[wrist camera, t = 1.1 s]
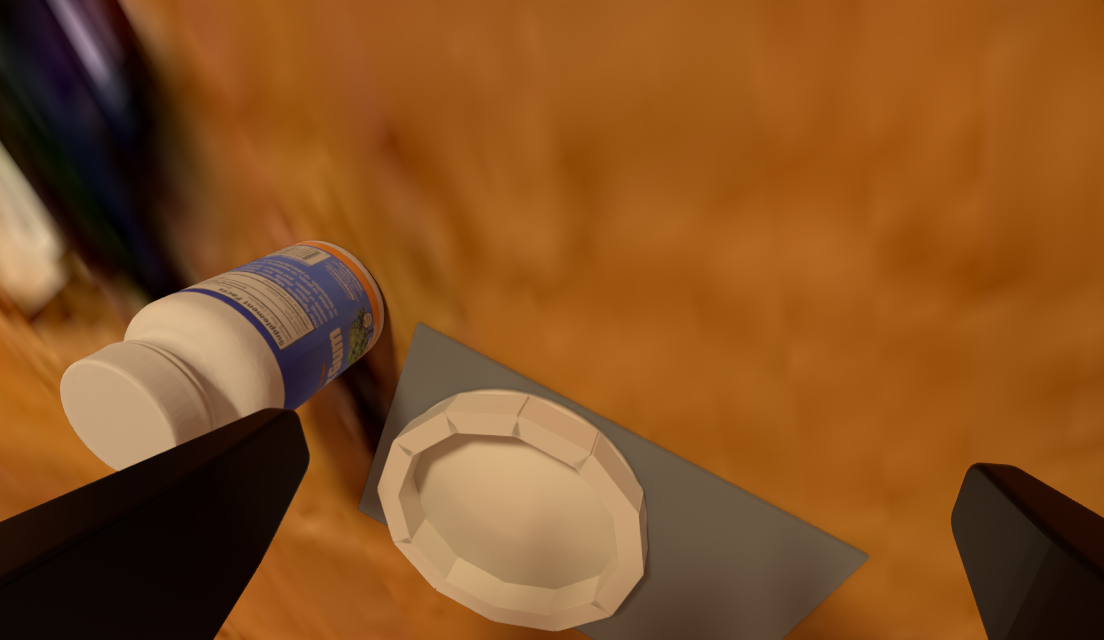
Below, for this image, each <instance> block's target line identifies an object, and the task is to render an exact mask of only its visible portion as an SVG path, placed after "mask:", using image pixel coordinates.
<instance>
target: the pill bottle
mask: <svg viewBox="0 0 1104 640" xmlns="http://www.w3.org/2000/svg"><path fill="white" fill-rule="evenodd" d="M383 324H384V306H383V301H382V297H381V294H380V291H379V289H378V287H377V284H376V282H375V281H374V279H373V278H372V276H371V275H370V273H369V272H368V271H367V269H366V268H365V267H364V266H363V264H362V263H361V262H360V261H359V260H358V259H356V258H355V257H354V256H353V255H352V254H350V253H349V252H347V251H346V250H344V249H342V248H341V247H339V246H336V245H334V244H331V243H327V242H323V241H305V242H300V243H297V244H294V245H291V246H289V247H286V248H284V249H282V250H279V251H277V252H274V253H272V254H270V255H267V256H265V257H262V258H260V259H258V260H255V261H253V262H250V263H248V264H245V265H243V266H240V267H238V268H236V269H233V270H231V271H228V272H226V273H223V274H221V275H218V276H216V277H213V278H211V279H208V280H206V281H203V282H201V283H198V284H196V285H193V286H191V287H188V288H186V289H183V290H181V291H178V292H176V293H174V294H171V295H169V296H167V297H164V298H162V299H159V300H157V301H155V302H153V303H151V304H149V305H147V306H146V307H144V308H143V309H142V310H140V312H139V313H138V314H137V315H136V316H135V317H134V318H133V319H132V321H131V323H130V324H129V326H128V329H127V331H126V334H125V338H124V341H123V342H118V343H113V344H110V345H108V346H106V347H104V348H103V349H101V350H99V351H97V352H95V353H93V354H91V355H89V356H87V357H85V358H83V359H81V360H79V361H77V362H75V363H73V364H72V365H71V366H70V367H69V368H68V369H67V370H66V371H65V373H64V375H63V377H62V380H61V385H60V394H61V401H62V405H63V408H64V411H65V414H66V416H67V418H68V420H69V422H70V424H71V425H72V427H73V429H74V430H75V432H76V433H77V435H78V436H79V438H80V439H81V440H82V441H83V442H84V444H85V445H86V446H87V447H88V448H89V449H90V450H91V451H92V452H93V453H94V454H95V455H96V456H97V457H98V458H100V459H101V460H102V461H104V462H105V463H106V464H107V465H108V466H110V467H112V468H113V469H115V470H117V471H120V470H122V469H124V468H127V467H129V466H131V465H134V464H136V463H138V462H141V461H143V460H145V459H148V458H150V457H152V456H155V455H157V454H159V453H162V452H164V451H166V450H169V449H171V448H173V447H176V446H178V445H180V444H183V443H185V442H187V441H190V440H192V439H194V438H197V437H199V436H201V435H203V434H206V433H208V432H210V431H213V430H215V429H217V428H220V427H222V426H224V425H227V424H229V423H231V422H234V421H236V420H238V419H241V418H243V417H245V416H248V415H250V414H252V413H255V412H257V411H259V410H262V409H264V408H269V407H272V408H285V409H292V410H296V409H297V408H298V407H299V406H301V405H302V404H303V403H304V402H306V401H307V400H308V399H309V398H311V397H312V396H313V395H314V394H316V393H317V392H318V391H320V390H321V389H322V388H323V387H325V386H326V385H327V384H328V383H329V382H331V381H332V380H333V379H335V378H336V377H337V376H338V375H340V374H341V373H342V372H343V371H345V370H346V369H347V368H348V367H350V366H351V365H352V364H353V363H355V362H356V361H357V360H358V359H360V358H361V357H362V356H363V355H364V354H365V353H367V352H368V351H369V350H370V349H371V348H372V347H373V346H374V344H375V343H376V342H377V340H378V338H379V337H380V334H381V332H382V329H383Z"/></svg>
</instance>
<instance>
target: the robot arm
mask: <svg viewBox="0 0 1104 640" xmlns="http://www.w3.org/2000/svg"><path fill="white" fill-rule="evenodd" d="M309 460H310V453H309V449H308V446H307V442H306V439H305V435H304V432H303V428H302V425H301V421H300V418H299V416H298V414H297V413H296V412H295V411H294V410H292V409H285V408H272V407H269V408H264V409H262V410H259V411H257V412H255V413H252V414H250V415H248V416H245V417H243V418H241V419H238V420H236V421H234V422H231V423H229V424H227V425H224V426H222V427H220V428H217V429H215V430H213V431H210V432H208V433H206V434H203V435H201V436H199V437H197V438H194V439H192V440H190V441H187V442H185V443H183V444H180V445H178V446H176V447H173V448H171V449H169V450H166V451H164V452H162V453H159V454H157V455H155V456H152V457H150V458H148V459H145V460H143V461H141V462H138V463H136V464H134V465H131V466H129V467H127V468H124V469H122V470H120V471H117V472H115V473H113V474H110V475H108V476H106V477H103V478H101V479H99V480H96V481H94V482H92V483H90V484H87V485H85V486H83V487H80V488H78V489H76V490H73V491H71V492H69V493H66V494H64V495H62V496H59V497H57V498H55V499H52V500H50V501H48V502H45V503H43V504H41V505H38V506H36V507H34V508H31V509H29V510H27V511H24V512H22V513H20V514H17V515H15V516H13V517H10V518H8V519H6V520H3V521H1V522H0V640H214V638H215V636H216V635H217V633H218V632H219V630H220V628H221V627H222V625H223V623H224V622H225V620H226V619H227V617H228V615H229V614H230V612H231V611H232V609H233V607H234V606H235V604H236V602H237V601H238V599H239V598H240V596H241V594H242V593H243V591H244V590H245V588H246V586H247V585H248V583H249V581H250V580H251V578H252V577H253V575H254V573H255V571H256V570H257V568H258V566H259V565H260V563H261V561H262V559H263V557H264V555H265V553H266V552H267V550H268V548H269V546H270V544H271V542H272V540H273V538H274V536H275V534H276V532H277V530H278V528H279V526H280V524H281V522H282V520H283V518H284V516H285V514H286V512H287V510H288V508H289V506H290V504H291V502H292V500H293V498H294V496H295V494H296V492H297V490H298V487H299V485H300V483H301V481H302V479H303V477H304V475H305V473H306V471H307V469H308V465H309ZM951 526H952V531H953V535H954V538H955V541H956V544H957V547H958V550H959V553H960V556H961V559H962V562H963V565H964V568H965V571H966V574H967V577H968V580H969V583H970V586H971V589H972V592H973V595H974V598H975V601H976V604H977V607H978V610H979V613H980V616H981V619H982V622H983V625H984V628H985V631H986V634H987V637H988V640H1104V518H1103V517H1101V516H1100V515H1098V514H1096V513H1095V512H1093V511H1091V510H1089V509H1088V508H1086V507H1084V506H1083V505H1081V504H1079V503H1077V502H1076V501H1074V500H1072V499H1071V498H1069V497H1067V496H1066V495H1064V494H1062V493H1060V492H1059V491H1057V490H1055V489H1054V488H1052V487H1050V486H1048V485H1047V484H1045V483H1043V482H1042V481H1040V480H1038V479H1036V478H1035V477H1033V476H1031V475H1030V474H1028V473H1026V472H1025V471H1023V470H1021V469H1019V468H1017V467H1015V466H1012V465H1005V464H992V463H976V464H973V465H972V466H971V467H970V468H969V469H968V471H967V473H966V475H965V478H964V481H963V483H962V486H961V489H960V492H959V494H958V497H957V500H956V503H955V506H954V508H953V511H952V517H951Z"/></svg>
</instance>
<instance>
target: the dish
mask: <svg viewBox="0 0 1104 640" xmlns="http://www.w3.org/2000/svg"><path fill="white" fill-rule="evenodd" d="M377 488H378V494H379V497H380V500H381V504H382V507H383V510H384V514H385V517H386V520H387V523H388V527H389V530H390V533H391V537H392V540H393V542H395V543H394V544H395V545H396V546H397V547H398V548H399V549H400V551H401V552H402V553H403V554H404V555H405V556H406V557H407V558H408V560H409V561H410V562H411V563H412V564H413V565H414V566H415V567H416V569H417V570H418V571H419V572H420V573H421V574H422V575H423V576H424V578H425V579H426V580H427V581H428V582H429V583H430V584H431V585H432V587H433V588H434V589H435V588H437V589H436V590H437V591H439V592H441V593H442V594H444V595H446V596H448V597H450V598H451V599H453V600H455V601H457V602H459V603H460V604H462V605H464V606H466V607H468V608H470V609H471V610H473V611H475V612H477V613H479V614H480V615H482V616H484V617H486V618H488V619H489V620H491V621H492V620H494V622H500V623H506V624H512V625H518V626H524V627H530V628H536V629H542V630H548V631H554V632H555V630H556V631H560V630H564V629H568V628H571V627H575V626H578V625H582V624H585V623H589V622H593V621H596V620H600V619H603V618H607V617H610V616H611V615H613V613H614V612H615V611H616V610H617V608H618V607H619V606H620V604H621V603H622V602H623V601H624V599H625V598H626V597H627V595H628V594H629V593H630V591H631V590H632V589H633V588H634V586H635V585H636V584H637V582H638V581H639V580H640V579H641V577H642V576H643V573H644V568H645V562H646V556H647V549H648V543H647V530H646V528H647V507H646V501H645V496H644V492H643V489H642V486H641V483H640V481H639V479H638V477H637V475H636V473H635V471H634V469H633V467H632V465H631V464H630V462H629V461H628V459H627V458H626V456H625V455H624V453H623V452H622V451H621V450H620V449H619V447H618V446H617V445H616V444H615V443H614V441H613V440H612V439H611V438H610V437H608V436H607V435H606V434H605V433H604V432H603V431H602V430H601V429H600V428H599V427H597V426H596V425H595V424H593V423H592V422H591V421H589V420H588V419H587V418H585V417H584V416H582V415H581V414H579V413H577V412H576V411H574V410H572V409H571V408H569V407H567V406H565V405H563V404H560V403H558V402H556V401H554V400H552V399H549V398H546V397H543V396H540V395H537V394H534V393H530V392H525V391H520V390H515V389H505V388H480V389H474V390H468V391H464V392H460V393H457V394H454V395H451V396H449V397H447V398H445V399H443V400H441V401H439V402H437V403H436V404H434V405H433V406H432V407H430V408H429V409H428V410H427V411H426V412H425V413H424V414H422V415H420V416H418V417H417V418H415V419H413V420H412V421H410V422H409V424H408V425H407V426H406V427H405V428H404V429H403V430H402V432H401V433H400V434H399V435H398V436H397V437H396V438H395V440H394V441H393V443H392V446H391V449H390V452H389V455H388V458H387V461H386V464H385V467H384V470H383V473H382V476H381V479H380V482H379V484H378V487H377Z"/></svg>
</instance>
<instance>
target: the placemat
mask: <svg viewBox="0 0 1104 640" xmlns="http://www.w3.org/2000/svg"><path fill="white" fill-rule="evenodd" d="M480 388H505V389H515V390H520V391H525V392H530V393H534V394H537V395H540V396H543V397H546V398H549V399H552V400H554V401H556V402H558V403H560V404H563V405H565V406H567V407H569V408H571V409H572V410H574V411H576V412H577V413H579V414H581V415H582V416H584V417H585V418H587V419H588V420H589V421H591V422H592V423H593V424H595V425H596V426H597V427H599V428H600V429H601V430H602V431H603V432H604V433H605V434H606V435H607V436H608V437H610V438H611V439H612V440H613V441H614V443H615V444H616V445H617V446H618V447H619V449H620V450H621V451H622V452H623V453H624V455H625V456H626V458H627V459H628V461H629V462H630V464H631V465H632V467H633V469H634V471H635V473H636V475H637V477H638V479H639V481H640V483H641V486H642V489H643V492H644V496H645V501H646V507H647V528H646V530H647V543H648V549H647V556H646V562H645V568H644V573H643V576H642V577H641V579H640V580H639V581H638V582H637V584H636V585H635V586H634V588H633V589H632V590H631V591H630V593H629V594H628V595H627V597H626V598H625V599H624V601H623V602H622V603H621V604H620V606H619V607H618V608H617V610H616V611H615V612H614V613H613V615H611V616H610V617H607V618H603V619H600V620H596V621H593V622H589V623H585V624H582V625H578V626H575V627H572V628H574V629H576V630H578V631H580V632H582V633H583V634H585V635H587V636H589V637H591V638H593V639H594V640H782V639H783V638H784V637H785V636H786V635H787V634H788V633H789V632H790V631H791V630H792V629H793V628H794V627H796V626H797V625H798V624H799V623H800V622H801V621H802V620H803V619H804V618H805V617H806V616H807V615H808V614H810V613H811V612H812V611H813V610H814V609H815V608H816V607H817V606H818V605H819V604H820V603H821V602H822V601H824V600H825V599H826V598H827V597H828V596H829V595H830V594H831V593H832V592H833V591H834V590H835V589H836V588H838V587H839V586H840V585H841V584H842V583H843V582H844V581H845V580H846V579H847V578H848V577H849V576H850V575H852V574H853V573H854V572H855V571H856V570H857V569H858V568H859V567H860V566H861V565H862V564H863V563H864V562H866V561H867V560H868V559H869V557H868V554H866V553H864V552H862V551H860V550H858V549H856V548H854V547H852V546H850V545H848V544H846V543H845V542H843V541H841V540H839V539H837V538H835V537H833V536H831V535H829V534H827V533H825V532H823V531H821V530H819V529H818V528H816V527H814V526H812V525H810V524H808V523H806V522H804V521H802V520H800V519H798V518H796V517H794V516H792V515H791V514H789V513H787V512H785V511H783V510H781V509H779V508H777V507H775V506H773V505H771V504H769V503H767V502H765V501H764V500H762V499H760V498H758V497H756V496H754V495H752V494H750V493H748V492H746V491H744V490H742V489H740V488H738V487H737V486H735V485H733V484H731V483H729V482H727V481H725V480H723V479H721V478H719V477H717V476H715V475H713V474H711V473H710V472H708V471H706V470H704V469H702V468H700V467H698V466H696V465H694V464H692V463H690V462H688V461H686V460H684V459H683V458H681V457H679V456H677V455H675V454H673V453H671V452H669V451H667V450H665V449H663V448H661V447H659V446H657V445H655V444H654V443H652V442H650V441H648V440H646V439H644V438H642V437H640V436H638V435H636V434H634V433H632V432H630V431H628V430H627V429H625V428H623V427H621V426H619V425H617V424H615V423H613V422H611V421H609V420H607V419H605V418H603V417H601V416H600V415H598V414H596V413H594V412H592V411H590V410H588V409H586V408H584V407H582V406H580V405H578V404H576V403H574V402H573V401H571V400H569V399H567V398H565V397H563V396H561V395H559V394H557V393H555V392H553V391H551V390H549V389H547V388H546V387H544V386H542V385H540V384H538V383H536V382H534V381H532V380H530V379H528V378H526V377H524V376H522V375H520V374H519V373H517V372H515V371H513V370H511V369H509V368H507V367H505V366H503V365H501V364H499V363H497V362H495V361H493V360H492V359H490V358H488V357H486V356H484V355H482V354H480V353H478V352H476V351H474V350H472V349H470V348H468V347H466V346H465V345H463V344H461V343H459V342H457V341H455V340H453V339H451V338H449V337H447V336H445V335H443V334H441V333H439V332H437V331H436V330H434V329H432V328H430V327H428V326H426V325H424V324H422V323H420V322H419V323H418V324H417V327H416V330H415V333H414V336H413V339H412V342H411V345H410V348H409V351H408V355H407V358H406V361H405V364H404V367H403V370H402V373H401V376H400V379H399V382H398V386H397V389H396V392H395V395H394V398H393V401H392V404H391V407H390V410H389V414H388V417H387V420H386V423H385V426H384V429H383V432H382V435H381V438H380V441H379V445H378V448H377V451H376V454H375V457H374V460H373V463H372V466H371V469H370V472H369V476H368V479H367V482H366V485H365V488H364V491H363V494H362V497H361V500H360V503H359V507H358V510H359V511H361V512H362V513H364V514H366V515H368V516H370V517H372V518H373V519H375V520H377V521H379V522H381V523H383V524H384V525H386V526H388V523H387V520H386V517H385V514H384V510H383V507H382V504H381V500H380V497H379V494H378V488H377V487H378V484H379V482H380V479H381V476H382V473H383V470H384V467H385V464H386V461H387V458H388V455H389V452H390V449H391V446H392V443H393V441H394V440H395V438H396V437H397V436H398V435H399V434H400V433H401V432H402V430H403V429H404V428H405V427H406V426H407V425H408V424H409V422H410V421H412V420H413V419H415V418H417V417H418V416H420V415H422V414H424V413H425V412H426V411H427V410H428V409H429V408H430V407H432V406H433V405H434V404H436V403H437V402H439V401H441V400H443V399H445V398H447V397H449V396H451V395H454V394H457V393H460V392H464V391H468V390H474V389H480Z"/></svg>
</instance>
